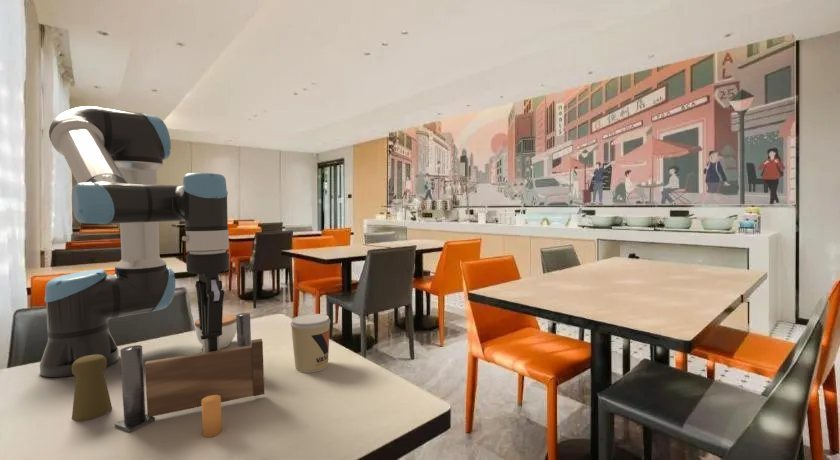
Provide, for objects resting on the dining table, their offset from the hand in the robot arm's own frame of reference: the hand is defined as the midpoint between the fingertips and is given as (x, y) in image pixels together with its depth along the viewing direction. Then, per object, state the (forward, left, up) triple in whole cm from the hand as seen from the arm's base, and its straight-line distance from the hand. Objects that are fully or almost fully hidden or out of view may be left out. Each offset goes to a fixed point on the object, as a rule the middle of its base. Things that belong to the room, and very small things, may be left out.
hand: (211, 367), depth 81 cm
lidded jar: (-29, +23, -7) cm, 38 cm away
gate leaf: (+2, -2, -6) cm, 7 cm away
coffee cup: (+6, +22, -7) cm, 24 cm away
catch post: (+10, -8, -7) cm, 14 cm away
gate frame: (-6, 0, -7) cm, 9 cm away
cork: (-18, -13, -7) cm, 23 cm away
